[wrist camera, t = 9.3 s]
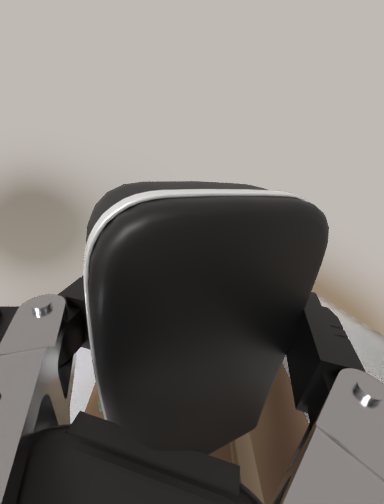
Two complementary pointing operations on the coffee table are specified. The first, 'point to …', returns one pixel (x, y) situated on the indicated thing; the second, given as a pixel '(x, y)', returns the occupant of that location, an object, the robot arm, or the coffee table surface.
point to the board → (258, 439)
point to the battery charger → (195, 304)
